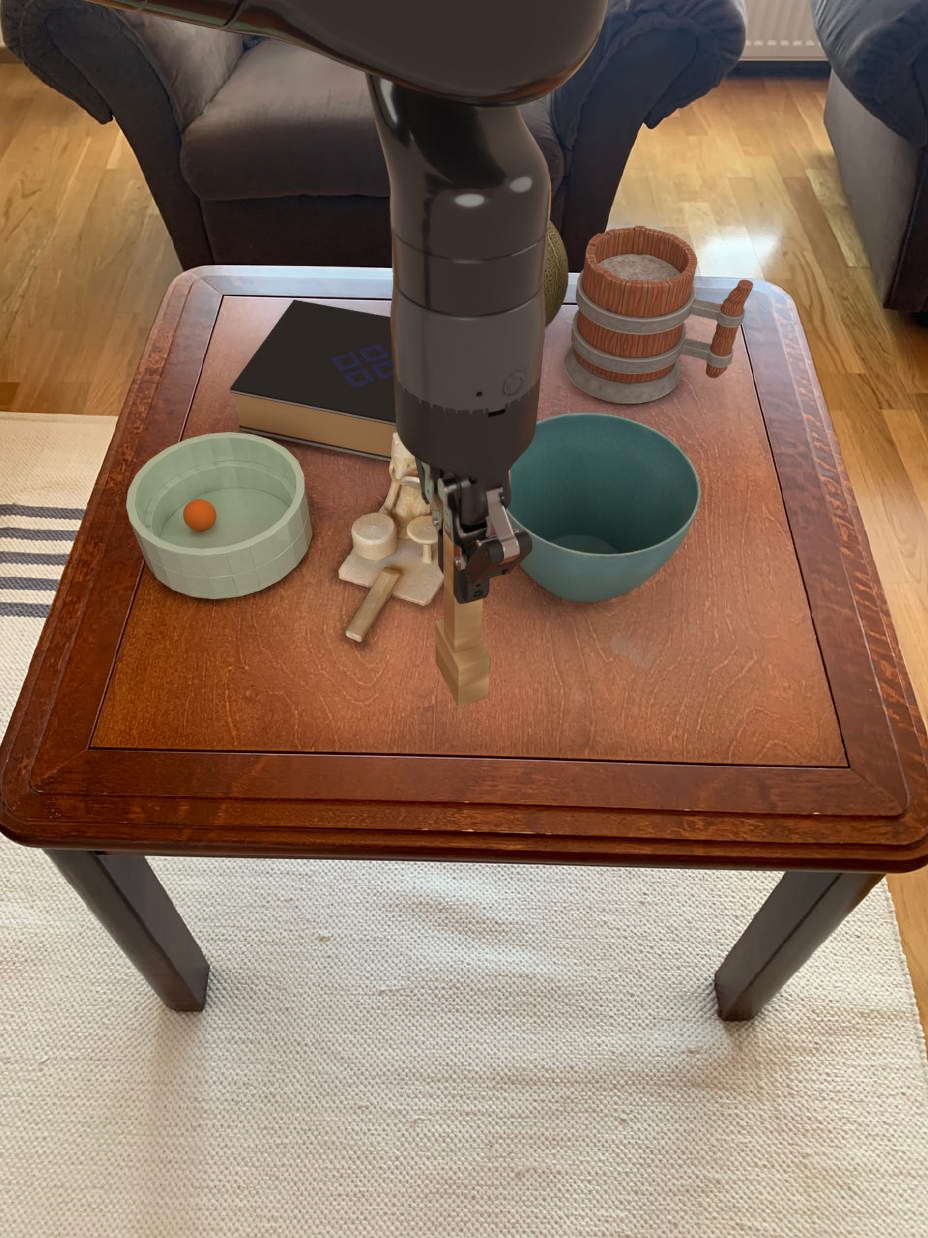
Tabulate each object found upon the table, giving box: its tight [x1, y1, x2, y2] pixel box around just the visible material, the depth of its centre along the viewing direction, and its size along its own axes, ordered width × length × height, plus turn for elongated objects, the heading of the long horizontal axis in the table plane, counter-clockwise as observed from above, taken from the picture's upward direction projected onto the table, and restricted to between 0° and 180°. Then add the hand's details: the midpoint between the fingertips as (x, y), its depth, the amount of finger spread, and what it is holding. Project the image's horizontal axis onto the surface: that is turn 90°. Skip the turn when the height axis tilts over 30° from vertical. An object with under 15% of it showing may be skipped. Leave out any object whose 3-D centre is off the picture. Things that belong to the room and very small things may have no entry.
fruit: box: [544, 219, 570, 329], centre depth 110 cm, size 11×11×15 cm
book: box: [229, 299, 397, 463], centre depth 103 cm, size 17×25×7 cm
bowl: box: [125, 431, 313, 600], centre depth 90 cm, size 17×17×7 cm
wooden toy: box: [337, 432, 444, 643], centre depth 86 cm, size 22×10×14 cm, turn 155°
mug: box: [563, 224, 754, 405], centre depth 104 cm, size 14×19×15 cm
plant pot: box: [506, 412, 702, 604], centre depth 86 cm, size 18×18×12 cm
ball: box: [183, 499, 216, 532], centre depth 91 cm, size 3×3×3 cm
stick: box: [434, 522, 492, 709], centre depth 62 cm, size 2×4×16 cm, turn 23°
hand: (463, 582), depth 59 cm, fingers closed on stick, 2 cm apart
